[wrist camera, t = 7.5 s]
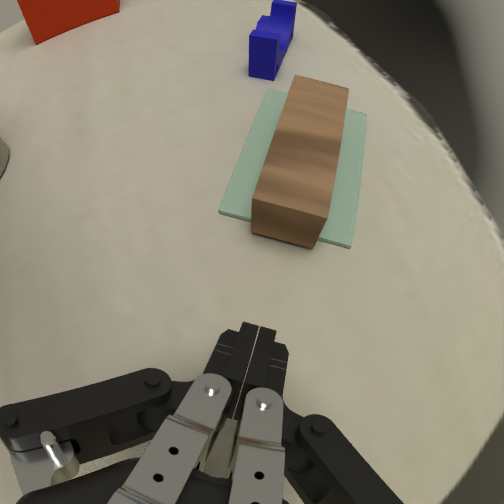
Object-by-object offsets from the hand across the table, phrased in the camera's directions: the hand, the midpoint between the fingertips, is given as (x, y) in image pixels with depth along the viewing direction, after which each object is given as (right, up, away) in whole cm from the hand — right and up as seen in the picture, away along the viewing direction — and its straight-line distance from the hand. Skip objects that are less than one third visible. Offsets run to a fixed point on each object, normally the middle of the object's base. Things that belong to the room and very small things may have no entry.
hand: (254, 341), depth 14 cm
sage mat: (+5, +13, +15) cm, 20 cm away
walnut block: (+2, +6, +9) cm, 11 cm away
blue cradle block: (+2, +29, +22) cm, 37 cm away
